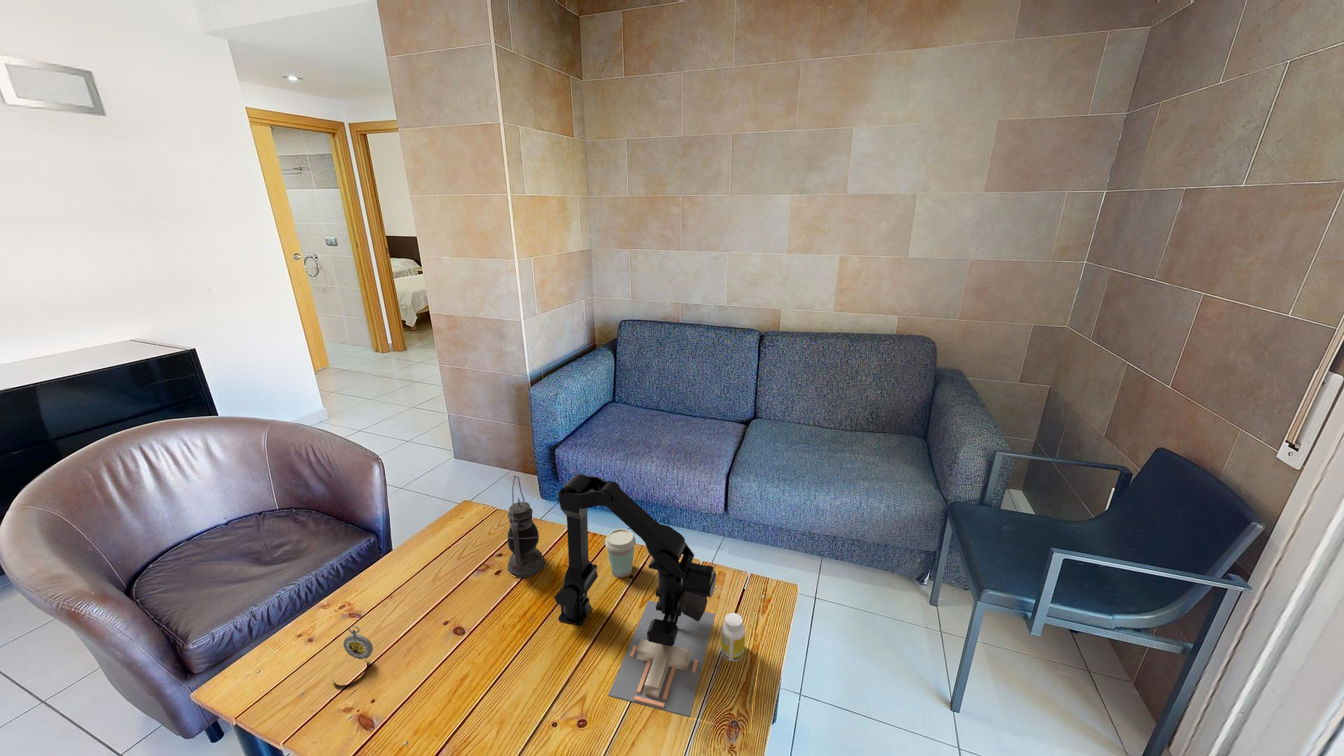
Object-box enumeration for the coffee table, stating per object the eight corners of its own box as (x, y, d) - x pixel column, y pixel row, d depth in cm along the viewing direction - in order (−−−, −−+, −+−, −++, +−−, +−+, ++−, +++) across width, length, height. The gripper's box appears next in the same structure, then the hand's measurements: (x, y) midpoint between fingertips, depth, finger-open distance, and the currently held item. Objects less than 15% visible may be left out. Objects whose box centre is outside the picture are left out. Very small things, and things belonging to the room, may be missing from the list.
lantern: (538, 580, 139) (528, 487, 129) (501, 580, 139) (487, 487, 129) (549, 551, 150) (540, 464, 141) (514, 551, 151) (503, 464, 141)
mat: (608, 696, 106) (608, 693, 105) (648, 601, 131) (648, 598, 131) (690, 717, 101) (690, 714, 101) (715, 615, 127) (715, 612, 126)
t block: (625, 690, 107) (624, 679, 106) (641, 648, 117) (640, 638, 116) (678, 703, 104) (678, 693, 103) (690, 660, 114) (690, 650, 113)
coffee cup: (642, 568, 143) (641, 533, 140) (624, 586, 137) (623, 550, 133) (619, 557, 148) (617, 523, 144) (600, 574, 141) (598, 539, 137)
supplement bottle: (746, 646, 118) (747, 613, 114) (741, 665, 113) (743, 631, 110) (723, 640, 119) (725, 608, 116) (718, 658, 114) (719, 625, 111)
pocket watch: (331, 692, 107) (321, 657, 103) (336, 662, 114) (326, 628, 110) (375, 677, 110) (366, 642, 107) (376, 648, 117) (368, 615, 114)
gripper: (695, 622, 103) (695, 676, 109) (711, 562, 120) (710, 612, 126) (645, 612, 106) (647, 665, 111) (667, 555, 123) (668, 604, 128)
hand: (670, 635), depth 119 cm, fingers open, 7 cm apart
